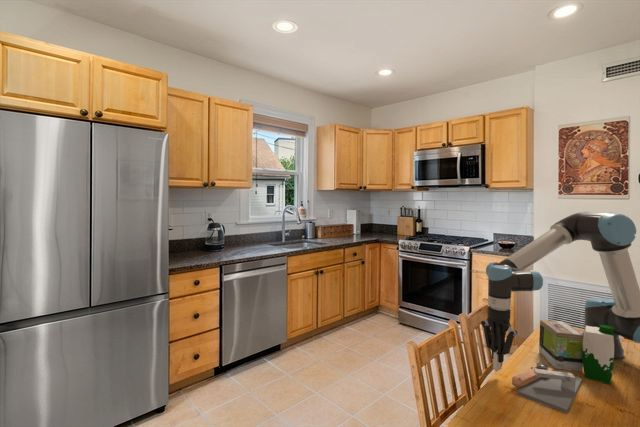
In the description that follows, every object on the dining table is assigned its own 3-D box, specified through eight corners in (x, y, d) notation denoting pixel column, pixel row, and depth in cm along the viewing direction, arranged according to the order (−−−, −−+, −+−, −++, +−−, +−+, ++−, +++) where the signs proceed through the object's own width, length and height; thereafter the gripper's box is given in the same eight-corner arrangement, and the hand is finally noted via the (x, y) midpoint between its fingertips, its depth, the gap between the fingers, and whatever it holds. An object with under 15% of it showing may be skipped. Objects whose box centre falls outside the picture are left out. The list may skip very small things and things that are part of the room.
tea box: (583, 372, 129) (585, 334, 128) (554, 369, 131) (556, 332, 130) (563, 354, 143) (564, 320, 143) (538, 352, 145) (539, 318, 145)
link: (538, 368, 128) (538, 363, 128) (553, 374, 124) (553, 369, 124) (507, 382, 119) (507, 376, 119) (521, 389, 114) (521, 384, 114)
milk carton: (613, 386, 118) (615, 332, 117) (581, 378, 124) (583, 325, 123) (612, 376, 125) (614, 324, 124) (581, 368, 131) (583, 319, 130)
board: (537, 367, 132) (537, 364, 132) (581, 381, 122) (582, 378, 122) (517, 394, 114) (517, 390, 114) (567, 413, 104) (567, 409, 104)
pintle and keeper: (539, 370, 127) (539, 357, 127) (581, 388, 115) (582, 374, 115) (520, 379, 121) (520, 365, 121) (562, 399, 109) (562, 384, 109)
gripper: (476, 304, 127) (475, 364, 128) (510, 314, 116) (508, 380, 117) (489, 301, 131) (487, 359, 132) (522, 311, 119) (520, 374, 121)
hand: (497, 369), depth 124 cm, fingers closed
